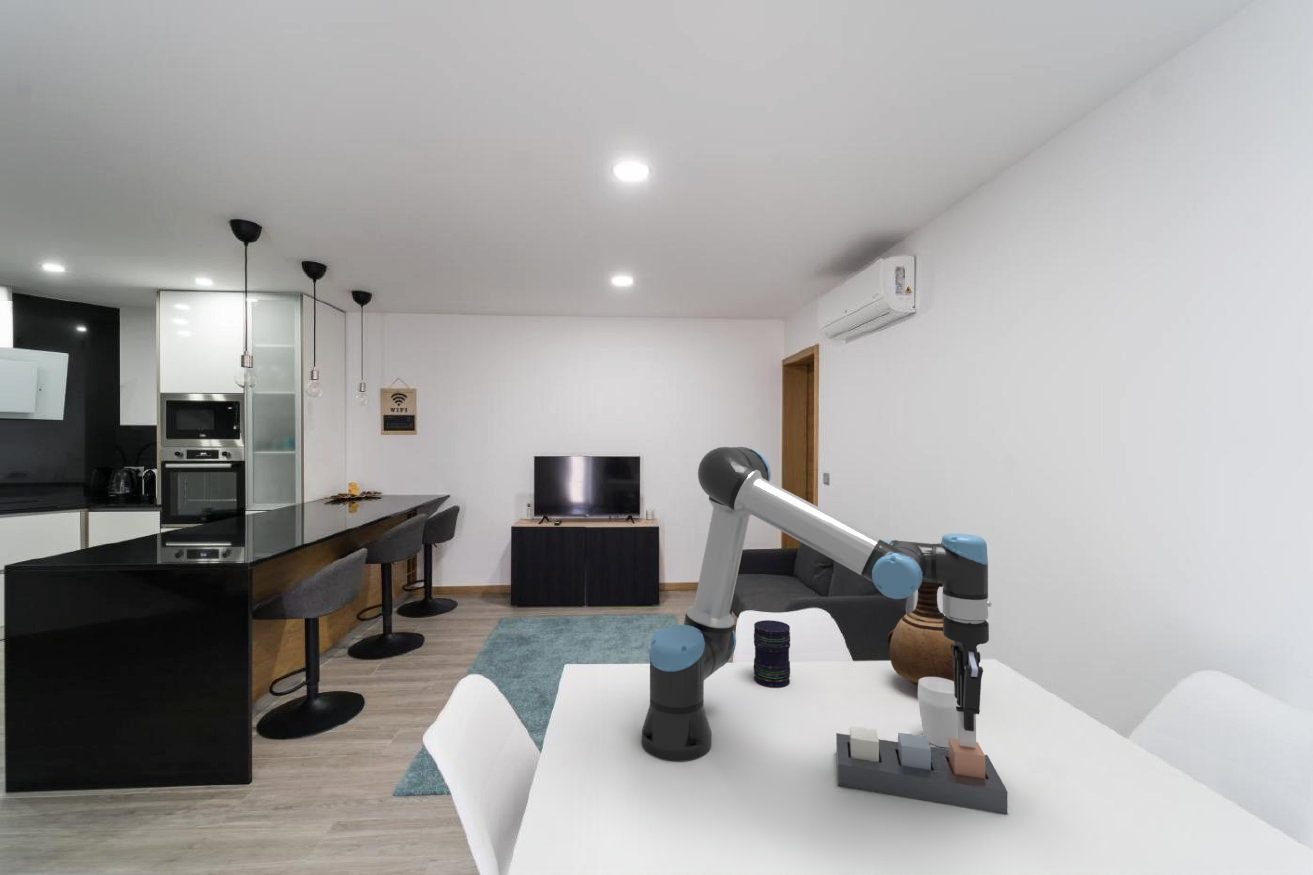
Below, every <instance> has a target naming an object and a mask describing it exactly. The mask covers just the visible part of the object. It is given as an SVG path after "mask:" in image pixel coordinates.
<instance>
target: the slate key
mask: <svg viewBox="0 0 1313 875" xmlns="http://www.w3.org/2000/svg"><path fill="white" fill-rule="evenodd" d="M897 742H898V760H899V763H900V766H906V767H912V768H919V769H925V770H931V749H930V747H931V746H930V743H929V742H928V741H927V738H926V736H924V735H919V734H911V733H903V732H897Z"/></svg>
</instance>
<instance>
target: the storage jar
mask: <svg viewBox="0 0 1313 875" xmlns="http://www.w3.org/2000/svg"><path fill="white" fill-rule="evenodd" d="M753 627H754V628H753V629H754V630H753V631H754V632H753V645H754V658H753V674H754V676H753V681H754V682H755V683H756V684H757V685H759V686H762V687H765V688H771V689H780V688H785V687H788V686H789V685H790V683H791V682H790V681H791V679H790V676H791V675H790V674H791V662H790V648H791V633H790V631H791V630H790V629H791V626H790V625H789V624H788V623H785V622H783V621H778V620H772V619H771V620H770V619H766V620H759V621H756V622H754V626H753Z"/></svg>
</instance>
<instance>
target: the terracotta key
mask: <svg viewBox="0 0 1313 875" xmlns="http://www.w3.org/2000/svg"><path fill="white" fill-rule="evenodd" d="M948 749H949V766H950V769H951V771H952V774H957V775H964V776H970V777H977V778H983V779H985V755H986V754H984V753H985V752H984V751H983V750H982V748H981V746H980V744H979V742H977V741H976V748H973V747H966V746H960V745H959V742H958V739H950V738H949V748H948Z"/></svg>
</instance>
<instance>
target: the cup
mask: <svg viewBox="0 0 1313 875" xmlns="http://www.w3.org/2000/svg"><path fill="white" fill-rule="evenodd" d="M954 693H955V690H954V681H951V680H948V679H944V678H939V677H923V678H920V679H919V681H918V686H917V700H918V706H919V707H918V708H919V714H920V719H921V721H920V722H921V726H922V734H923V736H926V738H927V741H928V744H931V745H933V746H936V747H938V748H943V749H949V738H950V739H958V711H957V710H956V706H958V704H957V698H955V696H954ZM958 707H960V706H958Z"/></svg>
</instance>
